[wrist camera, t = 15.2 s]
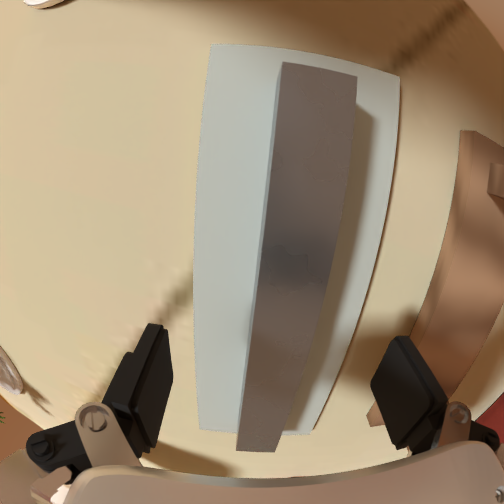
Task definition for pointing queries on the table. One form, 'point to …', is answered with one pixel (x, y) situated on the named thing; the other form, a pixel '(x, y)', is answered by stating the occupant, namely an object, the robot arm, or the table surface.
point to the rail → (295, 242)
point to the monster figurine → (9, 376)
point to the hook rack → (464, 269)
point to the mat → (250, 216)
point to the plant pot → (494, 418)
